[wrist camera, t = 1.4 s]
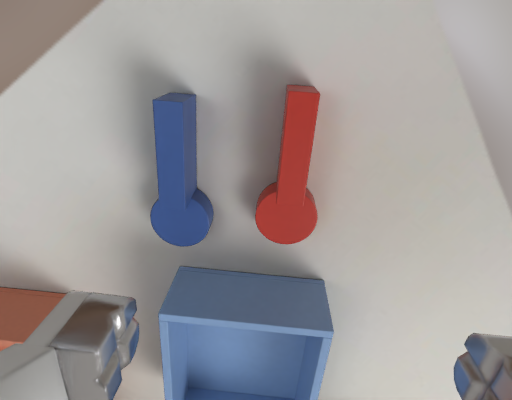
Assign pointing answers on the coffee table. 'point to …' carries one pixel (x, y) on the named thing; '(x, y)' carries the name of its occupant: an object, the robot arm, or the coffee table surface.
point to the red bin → (23, 313)
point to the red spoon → (292, 173)
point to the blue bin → (243, 336)
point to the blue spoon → (178, 173)
